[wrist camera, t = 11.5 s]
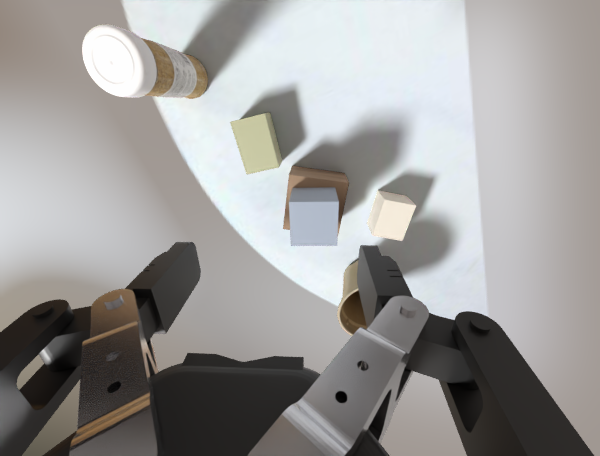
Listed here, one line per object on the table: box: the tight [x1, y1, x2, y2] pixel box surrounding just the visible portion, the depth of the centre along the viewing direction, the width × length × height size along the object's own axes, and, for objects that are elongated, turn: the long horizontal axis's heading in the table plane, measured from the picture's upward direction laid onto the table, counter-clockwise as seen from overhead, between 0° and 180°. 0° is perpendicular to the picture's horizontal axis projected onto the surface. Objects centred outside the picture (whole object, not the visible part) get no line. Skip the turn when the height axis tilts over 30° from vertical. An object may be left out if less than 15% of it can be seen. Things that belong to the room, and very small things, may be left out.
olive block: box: [230, 112, 282, 174], centre depth 32 cm, size 6×4×4 cm, turn 13°
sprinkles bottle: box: [82, 24, 208, 99], centre depth 25 cm, size 5×5×13 cm
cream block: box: [367, 190, 416, 241], centre depth 35 cm, size 5×4×4 cm
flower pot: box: [337, 261, 367, 336], centre depth 38 cm, size 9×9×9 cm
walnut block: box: [283, 166, 349, 233], centre depth 35 cm, size 7×7×5 cm
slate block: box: [289, 187, 339, 246], centre depth 30 cm, size 5×5×5 cm
